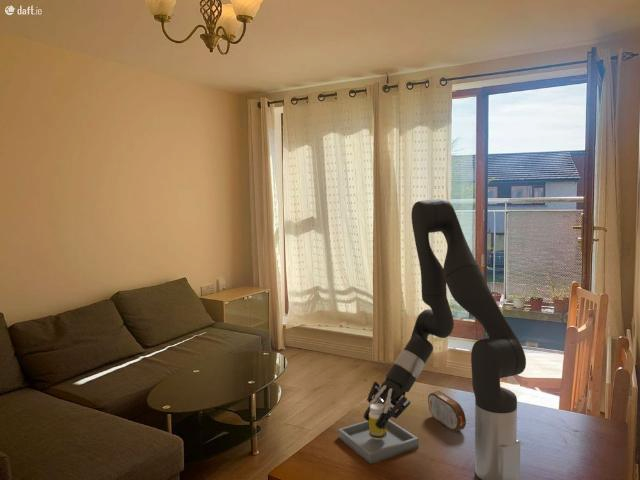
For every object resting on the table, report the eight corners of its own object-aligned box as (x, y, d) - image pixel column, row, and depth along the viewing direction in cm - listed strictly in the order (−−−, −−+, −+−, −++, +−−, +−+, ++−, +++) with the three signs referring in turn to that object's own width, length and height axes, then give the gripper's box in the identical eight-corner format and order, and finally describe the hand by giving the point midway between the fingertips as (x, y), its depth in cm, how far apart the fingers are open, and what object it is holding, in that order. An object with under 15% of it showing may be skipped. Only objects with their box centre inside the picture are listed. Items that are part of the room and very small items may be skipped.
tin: (466, 434, 132) (466, 405, 132) (457, 437, 131) (457, 407, 130) (434, 412, 146) (434, 386, 146) (426, 414, 145) (426, 388, 144)
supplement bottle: (386, 440, 127) (385, 410, 126) (368, 439, 128) (367, 409, 127) (387, 432, 131) (386, 402, 130) (370, 430, 132) (369, 401, 131)
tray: (418, 447, 126) (418, 438, 126) (370, 464, 119) (370, 454, 119) (383, 423, 140) (383, 415, 140) (338, 437, 133) (338, 429, 132)
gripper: (381, 356, 138) (348, 406, 133) (415, 370, 125) (380, 427, 120) (396, 370, 141) (364, 419, 136) (430, 385, 129) (397, 441, 123)
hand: (372, 423), depth 128 cm, fingers closed on supplement bottle, 4 cm apart
